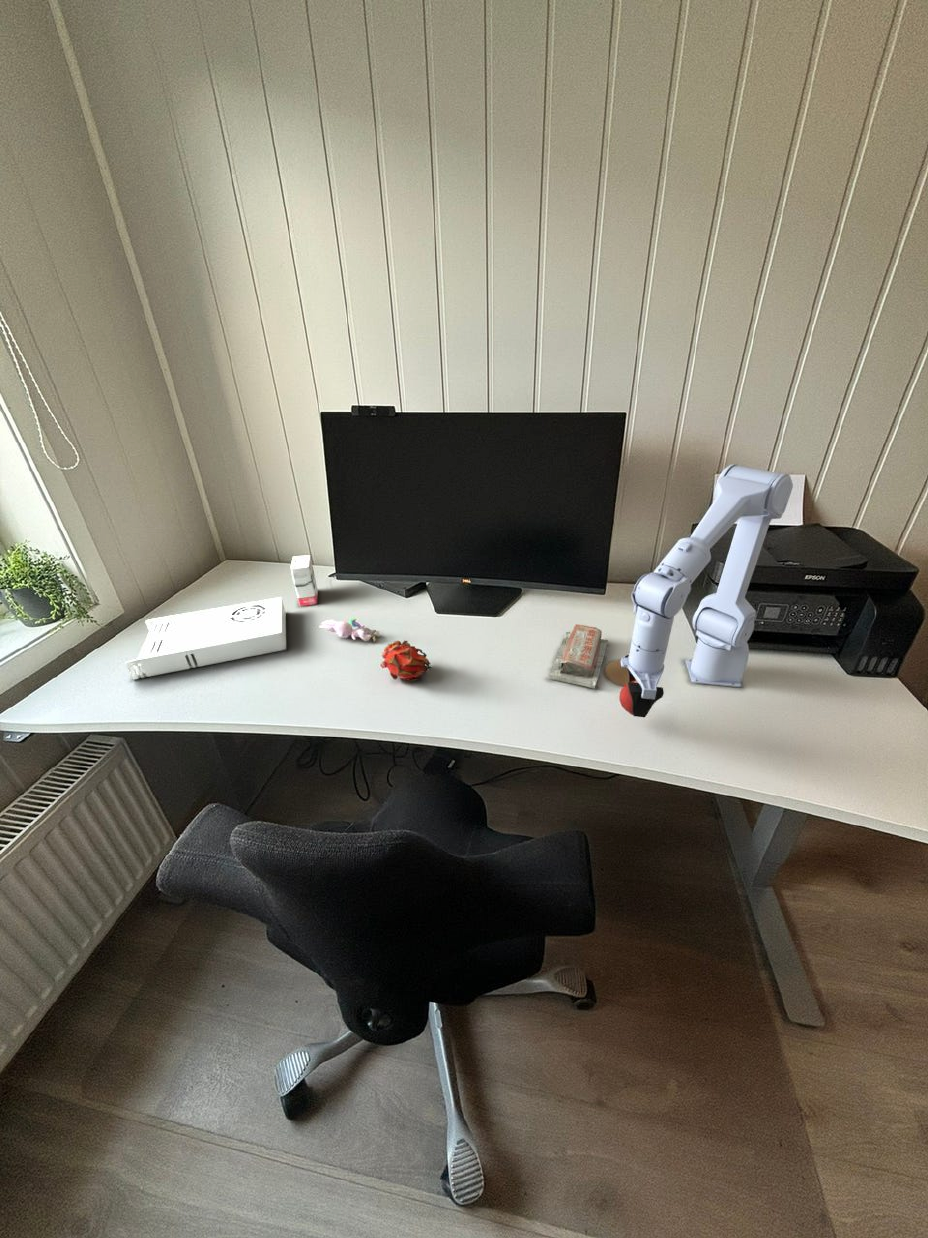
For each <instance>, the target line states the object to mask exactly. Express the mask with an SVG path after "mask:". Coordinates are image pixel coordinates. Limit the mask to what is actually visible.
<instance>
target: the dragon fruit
mask: <svg viewBox="0 0 928 1238" xmlns="http://www.w3.org/2000/svg"><path fill="white" fill-rule="evenodd" d="M381 657H382V658H383V659H384V660H383V661H382V662H381V663H380V664H379V665H380V667H381V668H382V669H385V668H387V669H388V671H389V675H390V677H392V679H393V680H395V681H396V680H397V679H398V677H399V678H401V679H403V680H406V681H408V682H415V681H419V680H420V678H419V676H420V675H424V674H427V673H428V670H429V669H432V666H431V664H432V663H431V662H430V661H429V659H428V658H427V654H426V653H425V652H423V650H422V649H421V648H416V646H414V645H411V643H410V642H408V640H404V641H403V642H401V641H400V640H394V641H393V642H392V643H388V644H387V645H386V646H385V647H384V649H383V651H382V653H381Z"/></svg>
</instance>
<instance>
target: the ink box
mask: <svg viewBox="0 0 928 1238" xmlns="http://www.w3.org/2000/svg"><path fill="white" fill-rule="evenodd" d="M290 573H291V576H292V582H293V585H294V588H295V592H296V597H297V601H298V604H299V605H298V606H299V607H305V606H306V607H307V606H313V605H317V604H318V593H319V592H318V591H319V590H318V589H319V588H318V585H317V580H316V575H315V570H314V566H313V561H312V557H311V555H296V556H292V559H291V564H290Z"/></svg>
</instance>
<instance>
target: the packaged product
mask: <svg viewBox="0 0 928 1238" xmlns="http://www.w3.org/2000/svg"><path fill="white" fill-rule="evenodd" d="M602 633H603V631H602V630H601V629H599V628H598V627H596V626H589V625H584V624H577V623H575V624H574V626H573V628H572V630H571V631H565V634H564V636H563V638H562V641H561V643H560V647H559V648H558V651H557V653H556V656H555V659H554V661H553V663H552V666H551V668H550V671H549V673H548V679H549V680H553V681H558V682H563V683H569V684H573V685H578V686H581V687H582V686H583V687H587V688H590V689H593V690H594V689H596V687H597V682H598V681H599V676H600V671H601V668H602V664H603V662H604V657H605V656H604V655H605V653H606V650H607V645H608V642H609V640H608V639H604V638H602Z"/></svg>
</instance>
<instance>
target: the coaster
mask: <svg viewBox="0 0 928 1238" xmlns="http://www.w3.org/2000/svg"><path fill="white" fill-rule="evenodd" d="M604 674H605V676H606V678H607V680H609V681H610V682H611V683H613V684H615V685H618V686H620V687H624V686H625V685H626V684H627V683H628V682H629V671H628V668H625V667H622V666H621V659H620V660H614V661H611V662H609V663H608V664H606V666H605V668H604Z"/></svg>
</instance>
